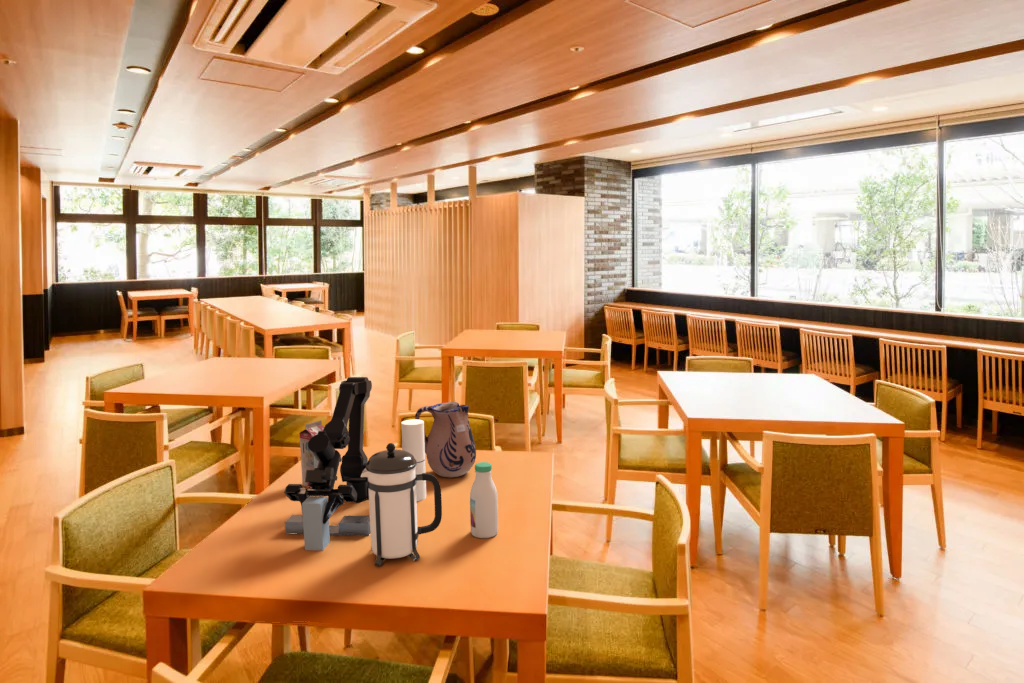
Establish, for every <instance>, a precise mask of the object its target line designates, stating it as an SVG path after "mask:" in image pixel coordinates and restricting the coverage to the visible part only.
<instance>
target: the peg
mask: <svg viewBox="0 0 1024 683" xmlns="http://www.w3.org/2000/svg"><path fill="white" fill-rule="evenodd" d="M327 503H328V496H309V497H308V498H307V499H306V500H305V501H304V502H303V503H302V507H301V512H302V511H303V528H304V534H303V541H304V542H303V543H304V550H305V551H324V550H325V549H326V548H327V546H328V545H329V544H330V542H331V540H330V539H331V538H330V536H331V535H329V525H330V518H329V519H328V521H327V522H326V523H325V524H324V523H323V517H324V514H325V510H326V507H327Z"/></svg>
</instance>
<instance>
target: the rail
mask: <svg viewBox="0 0 1024 683" xmlns="http://www.w3.org/2000/svg"><path fill="white" fill-rule="evenodd" d="M284 530H285V533H284V534H286V533H297V534H296V535H304V528H303V516H302V514H291V515H290V516H289V517H288V518H287V519H286V520H285V521H284ZM369 534H370V535H371V532H370V515H344V516H343V517H342V518H341V519H340V520H339V521H338V525H332V524H331V525H330V524H329V535H330V536H353V535H360V536H361V535H365V536H364V537H368V536H370V535H369Z"/></svg>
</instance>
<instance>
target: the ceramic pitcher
mask: <svg viewBox="0 0 1024 683" xmlns="http://www.w3.org/2000/svg"><path fill="white" fill-rule="evenodd" d="M469 410H470V406H469V405H467V404H461V405H460V403H459V402H455V401H450V402H441V403H437V404H434V405H425V406H422V407H420V408H418V409H417V411H416V413H415V414H414V417H415V418H414V419H419V420H421V419H420V416H421V414H422V413H426V412H428V413H429V414H431V416H432V418H433V422H432V425H431V428H430V431H429V433H428V435H426V433H425V431H424V442H425V457H426V461H427V464H428V466H429V468H430V469H431V470H432V471H433V472H434V473H435V474H437V475H438V476H439V477H443V478H450V479H451V478H459V477H461V476H463V475H466V474H467V473H468V472H469V471H470V470H471V469H472V468H473V466H474V465H475V462H476V458H477V450H476V449H477V448H476V443H475V440H474V436H473V432H472V428H471V425H470V421H469Z"/></svg>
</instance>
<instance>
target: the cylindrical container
mask: <svg viewBox="0 0 1024 683" xmlns="http://www.w3.org/2000/svg"><path fill="white" fill-rule="evenodd" d="M419 419H420V418H419ZM419 419H415V418H413V419H412V418H411V419H406V420H403V421H401V422H400V423H401V424H400V427H401V429H400V430H401V450H404V451H407V452H409V453H411V454H412V455H413V456H414V459H416V461H417V465H416V467H415V473H416V475H417V474H422V473H427V472H426V453H425V442H424V432H425V421H424V420H423V419H420V420H419ZM426 499H427V481H426V480H424V481H423V480H418V481H417V483H416V501H417V502H420V501H424V500H426Z"/></svg>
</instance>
